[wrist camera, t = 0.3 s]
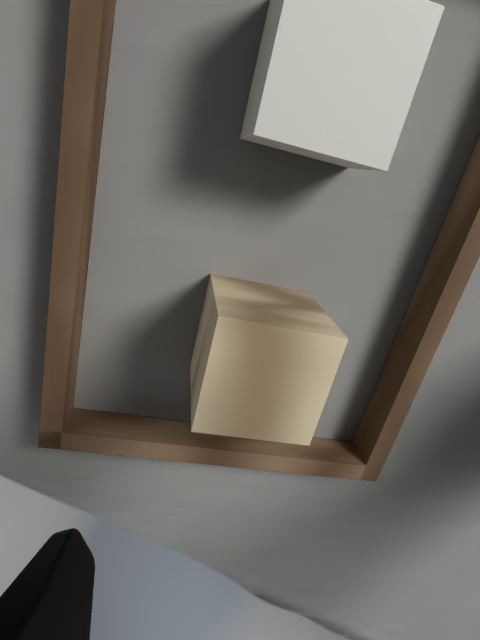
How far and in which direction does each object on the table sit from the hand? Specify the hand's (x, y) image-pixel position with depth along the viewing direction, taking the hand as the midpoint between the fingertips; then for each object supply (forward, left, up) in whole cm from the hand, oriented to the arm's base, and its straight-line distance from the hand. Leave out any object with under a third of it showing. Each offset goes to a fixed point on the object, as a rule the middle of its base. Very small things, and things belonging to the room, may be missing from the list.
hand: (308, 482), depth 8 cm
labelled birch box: (-1, +2, -13) cm, 13 cm away
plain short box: (-1, -9, -13) cm, 16 cm away
